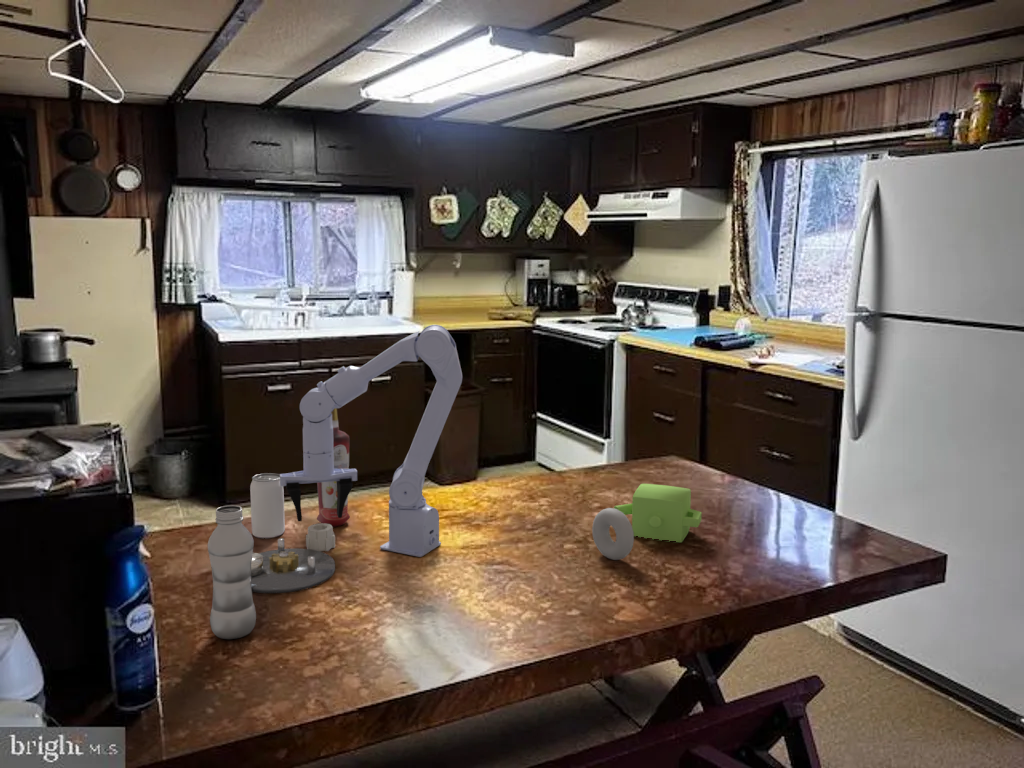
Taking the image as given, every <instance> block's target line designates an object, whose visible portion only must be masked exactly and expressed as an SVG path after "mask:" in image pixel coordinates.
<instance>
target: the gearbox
mask: <svg viewBox="0 0 1024 768" xmlns="http://www.w3.org/2000/svg"><path fill="white" fill-rule="evenodd" d="M691 491H692V490H691V488H686V487H680V486H674V485H664V484H653V483H641V484H639V486H638V487H637V488H636V489H635V492H634V493H633V495H632V503H626V504H619V505H614V507H613V508H614V509H617V510H619V511H621V512H622V513H624V515H625V516H627V515H631V516H632V517H631V525H632V529H633V532H634V537H636V536H638V537H637V538H641V537H644V538H643V539H647V538H652V539H651V540H654V539H659V540H658V541H662V540H669V541H668V542H670V541H676V542H675V543H683V542H684V540H685V538H686V537H687V535H688V534H689V531H690V528H699V526H700V524H701V522H702V515H703V514H702V513H703V512H701V511H700V510H696V509H692V508H691V507H692V506H691V505H692V504H691V501H692V499H691V498H692V497H691V495H692V494H691V493H692V492H691Z"/></svg>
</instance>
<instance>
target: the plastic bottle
mask: <svg viewBox="0 0 1024 768" xmlns="http://www.w3.org/2000/svg"><path fill="white" fill-rule="evenodd" d="M243 521H244V516H243V508H242V506H240V505H232V504H231V505H223V506H220V507H217V508H216V509H215V523H216V524H217V526H216V527H215V528H214V530H213V531H212V533H211V534H210V537H209V538H208V542H207V552H208V557H209V562H210V567H211V575H212V585H213V587H212V589H213V590H212V602H211V603H212V606H211V610H210V616H209V617H210V618H209V623H210V628H211V631H212V633H213V634H214V635H215V636H216V637H217V638H219V639H222V640H223V639H224V640H233V639H240V638H243V637H246V636H248V635H249V634H250V633H251V632H252V631H253V630H254V628H255V626H256V621H257V620H256V619H257V613H256V607H255V603H254V600H253V592H252V589H251V576H250V575H251V563H252V555H253V553H254V543H255V541H254V537H253V534H252V532H250V531H249V529H248V528H247V527H246V526H245V525H244V524H243V523H242V522H243Z"/></svg>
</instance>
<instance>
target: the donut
mask: <svg viewBox="0 0 1024 768" xmlns="http://www.w3.org/2000/svg"><path fill="white" fill-rule="evenodd" d="M591 527H592V529H591V531H592V539H593V542H594V544H595V546H596V547H597V550H598V551H599V552H600V553H601V555H602V556H604V557H605V558H607V559H609V560H613V561H618V560H622V559H625V558H626V557H627V556H628V555H630V553H631V551H632V549H633V548H634V542H635V536H634V532H633V529H632V522H630V520H629V518H628V517H627V515H624V513H622V512H621V511H619V510H617V509H614V507H607V508H604V509H601V510H600V511H599V512H598V513H597V514H596V515H595V517H594V519H593V522H592V526H591ZM611 527H612V529H613V530H614V533H615V541H614V540H613V538H612V537H611V533H610V529H611Z"/></svg>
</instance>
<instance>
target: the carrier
mask: <svg viewBox="0 0 1024 768" xmlns="http://www.w3.org/2000/svg"><path fill="white" fill-rule="evenodd" d="M335 572H336V561H335V560H334V558H333V557H332V556H331V555H329V554H328V553H326V552H324V551H316V550H310V549H307V548H296V547H295V548H293V547H292V548H285V538H282V537H281V538H277V549H273V550H266V551H264V552H259V553H257V552H253V555H252V563H251V575H250V576H251V589H252V593H259V594H284V593H285V594H287V593H293V592H298V591H304V590H306V589H307V588H308V589H310V588H313V586H314V587H316V586H319V585H321V584H323V583H325V582H326V581H328V580H329V579H330V578H332V576H333V575H334V574H335ZM303 589H304V590H303ZM308 589H307V590H308Z"/></svg>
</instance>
